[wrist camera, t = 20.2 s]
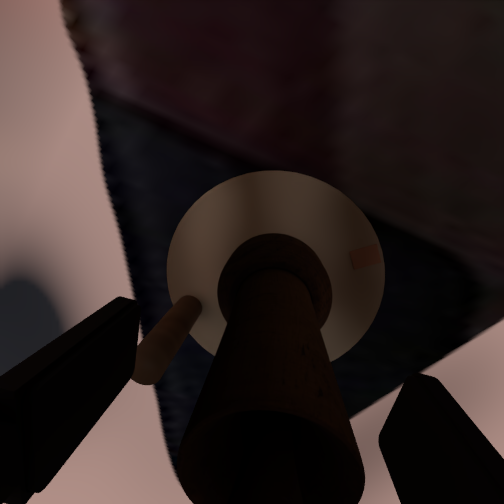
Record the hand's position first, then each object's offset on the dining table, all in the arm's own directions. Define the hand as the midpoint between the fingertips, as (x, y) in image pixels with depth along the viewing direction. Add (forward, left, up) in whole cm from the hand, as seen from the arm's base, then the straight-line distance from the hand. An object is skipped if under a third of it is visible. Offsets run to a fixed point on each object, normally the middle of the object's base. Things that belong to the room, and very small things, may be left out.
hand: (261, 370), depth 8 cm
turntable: (0, 0, -9) cm, 9 cm away
